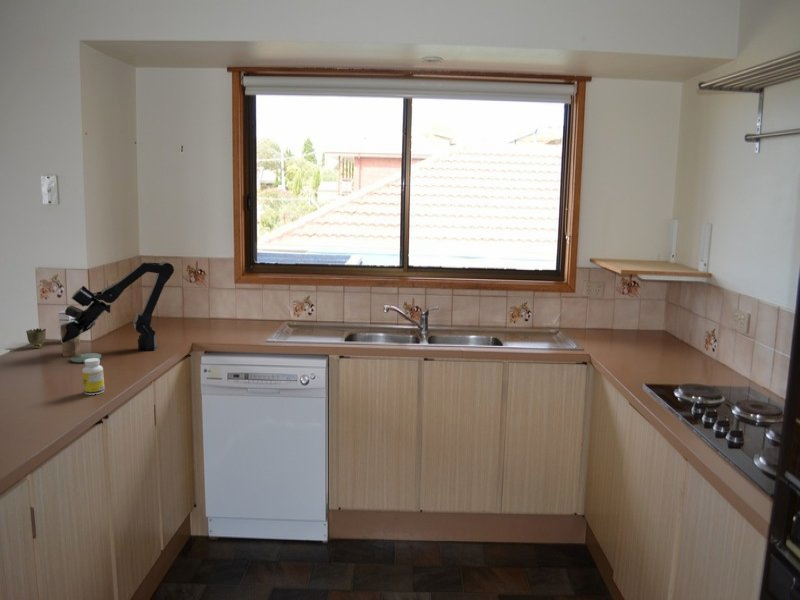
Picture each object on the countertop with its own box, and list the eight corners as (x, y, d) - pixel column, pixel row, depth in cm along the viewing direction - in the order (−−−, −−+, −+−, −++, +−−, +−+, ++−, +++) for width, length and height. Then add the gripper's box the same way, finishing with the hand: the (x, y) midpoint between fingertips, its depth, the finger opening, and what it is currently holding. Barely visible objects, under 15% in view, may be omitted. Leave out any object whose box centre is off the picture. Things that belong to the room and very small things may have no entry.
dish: (105, 356, 275) (104, 352, 275) (95, 363, 265) (95, 359, 264) (77, 356, 274) (77, 353, 274) (67, 363, 264) (66, 360, 263)
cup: (51, 346, 290) (49, 328, 289) (37, 350, 284) (35, 332, 282) (38, 345, 293) (36, 327, 291) (23, 349, 286) (22, 330, 285)
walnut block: (80, 353, 280) (77, 322, 278) (75, 356, 275) (73, 325, 273) (67, 353, 280) (65, 323, 277) (63, 356, 275) (60, 325, 272)
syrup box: (72, 343, 296) (69, 311, 293) (60, 343, 297) (57, 311, 294) (80, 340, 301) (78, 309, 299) (69, 340, 302) (66, 308, 300)
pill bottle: (88, 389, 231) (85, 357, 229) (107, 389, 232) (105, 357, 230) (81, 395, 225) (78, 362, 223) (100, 395, 225) (98, 362, 223)
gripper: (85, 295, 283) (60, 321, 284) (68, 303, 265) (41, 331, 265) (106, 313, 285) (81, 339, 286) (90, 322, 267) (64, 349, 268)
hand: (67, 339), depth 276 cm, fingers open, 9 cm apart
